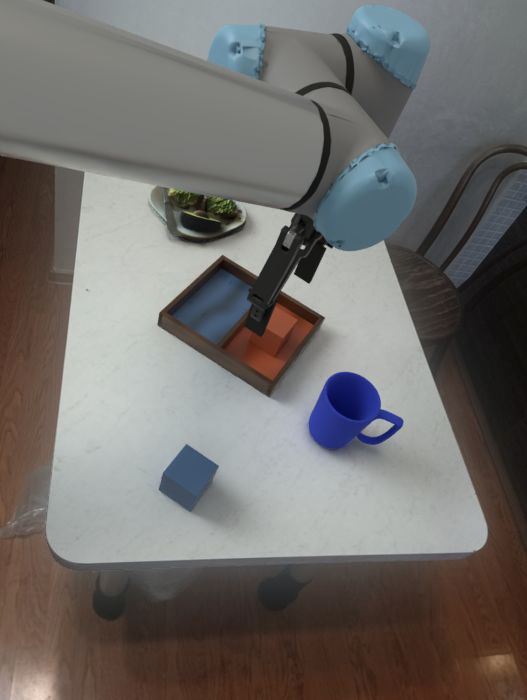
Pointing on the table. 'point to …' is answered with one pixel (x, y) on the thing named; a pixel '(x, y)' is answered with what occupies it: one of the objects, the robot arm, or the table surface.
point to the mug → (348, 412)
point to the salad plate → (197, 214)
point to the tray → (235, 325)
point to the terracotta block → (275, 332)
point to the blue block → (188, 477)
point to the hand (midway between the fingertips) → (279, 302)
